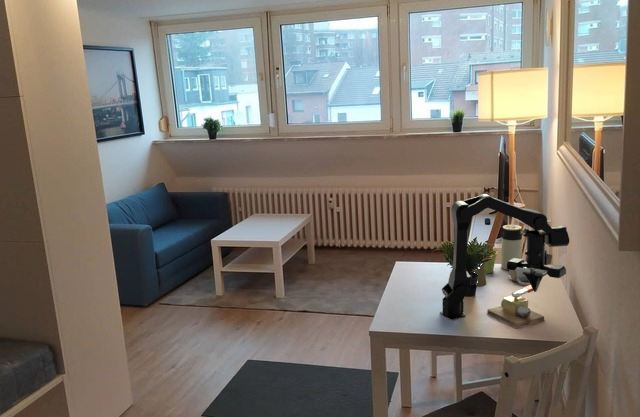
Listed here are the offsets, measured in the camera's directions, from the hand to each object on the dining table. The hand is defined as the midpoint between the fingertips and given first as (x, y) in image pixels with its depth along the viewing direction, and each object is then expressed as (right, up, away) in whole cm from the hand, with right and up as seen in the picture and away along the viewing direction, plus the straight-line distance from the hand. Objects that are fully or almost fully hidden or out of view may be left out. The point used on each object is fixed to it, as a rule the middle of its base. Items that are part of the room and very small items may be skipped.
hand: (535, 291), depth 200 cm
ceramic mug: (+7, -1, +31) cm, 32 cm away
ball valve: (-8, -7, -2) cm, 11 cm away
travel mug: (+7, +3, +48) cm, 48 cm away
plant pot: (-4, +2, +45) cm, 45 cm away
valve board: (-8, -8, -2) cm, 12 cm away
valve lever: (-4, 0, -1) cm, 4 cm away
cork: (-11, -1, +31) cm, 33 cm away
